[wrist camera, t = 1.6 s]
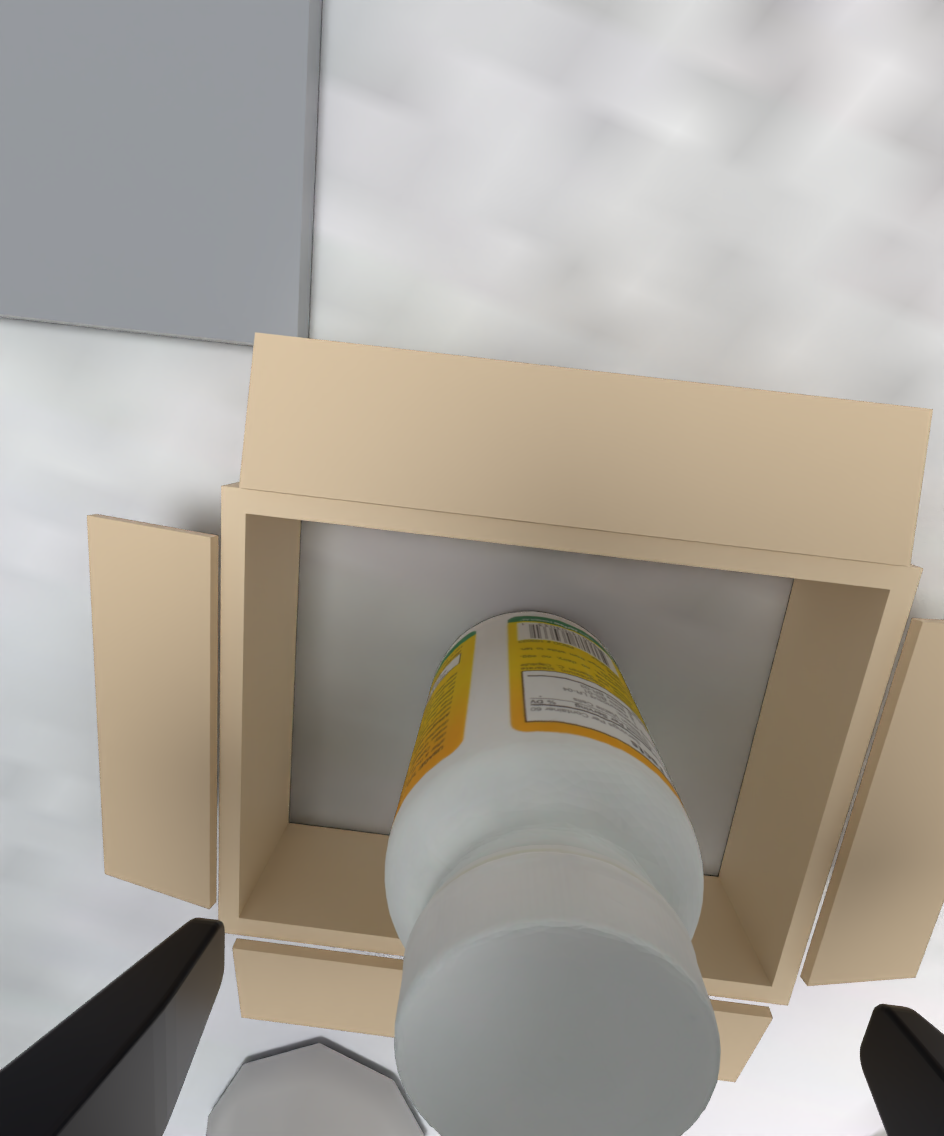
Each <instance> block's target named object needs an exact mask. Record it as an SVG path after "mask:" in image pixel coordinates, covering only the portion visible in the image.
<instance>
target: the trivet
mask: <svg viewBox="0 0 944 1136" xmlns="http://www.w3.org/2000/svg"><path fill="white" fill-rule="evenodd" d="M321 14H322V0H0V317H3V318H12V319H21V320H30V321H39V322H47V323H56V324H65V325H74V326H82V327H91V328H100V329H109V330H118V331H126V332H135V333H144V334H153V335H161V336H170V337H179V338H188V339H197V340H205V341H214V342H223V343H232V344H240V345H249V346H254V338H255V332H256V333H265V334H274V335H283V336H292V337H300V338H308V334H309V309H310V285H311V260H312V235H313V211H314V186H315V162H316V137H317V112H318V88H319V63H320V39H321Z"/></svg>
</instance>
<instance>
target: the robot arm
mask: <svg viewBox="0 0 944 1136" xmlns="http://www.w3.org/2000/svg"><path fill="white" fill-rule="evenodd" d="M224 948H225V928H224V924H223V922H222V921H219V920H213V919H205V918H194V919H192V920H190V921H188V922H187V923H186V924H184V925H183V926H182V927H181V928H179V929H178V930H177V931H176V932H174V933H173V934H172V935H171V936H169V937H168V938H167V939H165V940H164V941H163V942H162V943H160V944H159V945H158V946H157V947H155V948H154V949H153V950H152V951H150V952H149V953H148V954H147V955H145V956H144V957H143V958H141V959H140V960H139V961H138V962H136V963H135V964H134V965H133V966H131V967H130V968H129V969H128V970H126V971H125V972H124V973H123V974H121V975H120V976H119V977H117V978H116V979H115V980H114V981H112V982H111V983H110V984H109V985H107V986H106V987H105V988H104V989H102V990H101V991H100V992H99V993H97V994H96V995H95V996H93V997H92V998H91V999H90V1000H88V1001H87V1002H86V1003H85V1004H83V1005H82V1006H81V1007H80V1008H78V1009H77V1010H76V1011H75V1012H73V1013H72V1014H71V1015H70V1016H68V1017H67V1018H66V1019H64V1020H63V1021H62V1022H61V1023H59V1024H58V1025H57V1026H56V1027H54V1028H53V1029H52V1030H51V1031H49V1032H48V1033H47V1034H46V1035H44V1036H43V1037H42V1038H40V1039H39V1040H38V1041H37V1042H35V1043H34V1044H33V1045H32V1046H30V1047H29V1048H28V1049H27V1050H25V1051H24V1052H23V1053H22V1054H20V1055H19V1056H18V1057H16V1058H15V1059H14V1060H13V1061H11V1062H10V1063H9V1064H8V1065H6V1066H5V1067H4V1068H3V1069H1V1070H0V1136H162V1135H163V1133H164V1131H165V1129H166V1126H167V1124H168V1122H169V1119H170V1117H171V1114H172V1112H173V1109H174V1107H175V1104H176V1102H177V1099H178V1096H179V1094H180V1091H181V1088H182V1086H183V1083H184V1081H185V1078H186V1075H187V1073H188V1070H189V1067H190V1065H191V1062H192V1059H193V1057H194V1054H195V1052H196V1049H197V1046H198V1044H199V1041H200V1038H201V1036H202V1033H203V1030H204V1028H205V1025H206V1023H207V1020H208V1017H209V1015H210V1012H211V1009H212V1007H213V1004H214V1002H215V999H216V996H217V994H218V991H219V988H220V985H221V982H222V978H223V973H224ZM860 1061H861V1066H862V1069H863V1073H864V1075H865V1078H866V1081H867V1083H868V1086H869V1088H870V1091H871V1094H872V1096H873V1099H874V1102H875V1104H876V1107H877V1109H878V1112H879V1115H880V1117H881V1120H882V1123H883V1125H884V1128H885V1130H886V1133H887V1136H944V1034H943V1033H941V1032H940V1031H939V1030H938V1029H937V1028H935V1027H934V1026H933V1025H932V1024H930V1023H929V1022H928V1021H927V1020H926V1019H924V1018H923V1017H922V1016H921V1015H920V1014H918V1013H917V1012H916V1011H914V1010H912V1009H910V1008H908V1007H903V1006H895V1005H888V1004H879V1005H878V1006H876V1007H875V1008H874V1010H873V1012H872V1015H871V1018H870V1021H869V1024H868V1027H867V1029H866V1032H865V1035H864V1038H863V1041H862V1043H861V1047H860Z"/></svg>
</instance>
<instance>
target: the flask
mask: <svg viewBox="0 0 944 1136" xmlns="http://www.w3.org/2000/svg"><path fill="white" fill-rule="evenodd" d="M206 1136H424V1134H423V1132H422V1130H421V1129H420V1127H419V1125H418V1123H417V1121H416V1120H415V1118H414V1116H413V1114H412V1112H411V1111H410V1109H409V1107H408V1105H407V1103H406V1101H405V1100H404V1098H403V1096H402V1094H401V1092H400V1091H399V1089H398V1087H397V1085H396V1083H395V1082H394V1080H392V1079H390V1078H388V1077H386V1076H384V1075H382V1074H380V1073H378V1072H376V1071H374V1070H372V1069H370V1068H368V1067H366V1066H364V1065H362V1064H360V1063H358V1062H356V1061H354V1060H352V1059H350V1058H348V1057H346V1056H344V1055H342V1054H340V1053H338V1052H336V1051H334V1050H332V1049H330V1048H328V1047H327V1046H325V1045H323V1044H321V1043H317V1044H313V1045H310V1046H306V1047H303V1048H299V1049H295V1050H292V1051H288V1052H285V1053H281V1054H277V1055H274V1056H270V1057H267V1058H263V1059H260V1060H256V1061H252V1062H249V1063H245V1064H243V1066H242V1067H241V1069H240V1070H239V1071H238V1073H237V1074H236V1076H235V1077H234V1079H233V1080H232V1082H231V1083H230V1085H229V1086H228V1088H227V1089H226V1091H225V1092H224V1094H223V1095H222V1096H221V1098H220V1099H219V1101H218V1102H217V1104H216V1105H215V1107H214V1108H213V1110H212V1111H211V1113H210V1114H209V1116H208V1123H207V1132H206Z"/></svg>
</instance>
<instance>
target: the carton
mask: <svg viewBox="0 0 944 1136" xmlns="http://www.w3.org/2000/svg"><path fill="white" fill-rule="evenodd" d="M932 411H933V409H926V408H917V407H908V406H899V405H890V404H882V403H873V402H864V401H855V400H846V399H838V398H829V397H820V396H811V395H802V394H794V393H785V392H776V391H767V390H758V389H750V388H741V387H732V386H723V385H714V384H706V383H697V382H688V381H679V380H670V379H662V378H653V377H644V376H635V375H626V374H618V373H609V372H600V371H591V370H582V369H573V368H565V367H556V366H547V365H538V364H529V363H521V362H512V361H503V360H494V359H485V358H477V357H468V356H459V355H450V354H441V353H433V352H424V351H415V350H406V349H397V348H389V347H380V346H371V345H362V344H353V343H345V342H336V341H327V340H318V339H309V338H300V337H292V336H283V335H274V334H265V333H256V332H255V338H254V347H253V357H252V367H251V376H250V386H249V395H248V405H247V415H246V424H245V434H244V444H243V453H242V463H241V472H240V482H237V483H232V484H228V485H223V486H221V607H220V751H219V896H218V920H219V921H222V922H223V924H224V928H225V933H229V934H237V935H244V936H252V937H260V938H268V939H275V940H283V941H291V942H299V943H306V944H314V945H322V946H330V947H337V948H345V949H353V950H361V951H368V952H376V953H384V954H392V955H399V956H404V952H405V948H404V946H403V944H402V942H401V941H400V939H399V937H398V934H397V932H396V930H395V927H394V924H393V922H392V919H391V916H390V913H389V908H388V903H387V898H386V889H385V859H386V851H387V846H388V840H389V835H381V834H373V833H365V832H357V831H350V830H342V829H334V828H326V827H318V826H310V825H302V824H294V823H289V802H290V777H291V752H292V728H293V703H294V678H295V654H296V629H297V605H298V580H299V555H300V531H301V520H305V521H314V522H322V523H331V524H339V525H348V526H356V527H365V528H373V529H382V530H390V531H398V532H407V533H415V534H424V535H432V536H441V537H449V538H458V539H466V540H475V541H483V542H492V543H500V544H508V545H517V546H525V547H534V548H542V549H551V550H559V551H568V552H576V553H585V554H593V555H602V556H610V557H618V558H627V559H635V560H644V561H652V562H661V563H669V564H678V565H686V566H695V567H703V568H711V569H720V570H728V571H737V572H745V573H754V574H762V575H771V576H779V577H788V578H795V579H794V583H793V587H792V591H791V595H790V599H789V603H788V606H787V610H786V614H785V618H784V622H783V626H782V630H781V634H780V638H779V642H778V646H777V650H776V653H775V657H774V661H773V665H772V669H771V673H770V677H769V681H768V685H767V689H766V693H765V696H764V700H763V704H762V708H761V712H760V716H759V720H758V724H757V728H756V732H755V736H754V740H753V743H752V747H751V751H750V755H749V759H748V763H747V767H746V771H745V775H744V779H743V783H742V787H741V790H740V794H739V798H738V802H737V806H736V810H735V814H734V818H733V822H732V826H731V830H730V833H729V837H728V841H727V845H726V849H725V853H724V857H723V861H722V865H721V869H720V873H719V877H715V876H707V875H703V876H704V891H703V903H702V908H701V913H700V917H699V921H698V924H697V927H696V930H695V933H694V935H693V938H692V940H691V942H692V945H693V948H694V951H695V954H696V959H697V964H698V967H699V970H700V973H701V976H702V979H703V982H704V984H705V987H706V990H707V993H708V995H710V996H717V997H725V998H733V999H741V1000H748V1001H756V1002H764V1003H772V1004H779V1005H787V1006H788V1003H789V1000H790V997H791V994H792V990H793V987H794V984H795V981H796V977H797V974H798V971H799V968H800V964H801V961H802V958H803V955H804V952H805V948H806V945H807V942H808V939H809V935H810V932H811V929H812V926H813V923H814V919H815V916H816V913H817V910H818V906H819V903H820V900H821V897H822V893H823V890H824V887H825V884H826V881H827V877H828V874H829V871H830V868H831V864H832V861H833V858H834V855H835V851H836V848H837V845H838V842H839V839H840V835H841V832H842V829H843V826H844V822H845V819H846V816H847V813H848V810H849V806H850V803H851V800H852V797H853V793H854V790H855V787H856V784H857V780H858V777H859V774H860V771H861V768H862V764H863V761H864V758H865V755H866V751H867V748H868V745H869V742H870V739H871V735H872V732H873V729H874V726H875V722H876V719H877V716H878V713H879V709H880V706H881V703H882V700H883V697H884V693H885V690H886V687H887V684H888V680H889V677H890V674H891V671H892V667H893V664H894V661H895V658H896V655H897V651H898V648H899V645H900V642H901V638H902V635H903V632H904V629H905V626H906V622H907V619H908V616H909V613H910V609H911V606H912V603H913V600H914V596H915V593H916V590H917V587H918V584H919V580H920V577H921V574H922V571H923V568H921V567H918V566H915V565H912V564H911V557H912V550H913V543H914V536H915V529H916V522H917V515H918V508H919V501H920V494H921V487H922V481H923V474H924V467H925V460H926V453H927V446H928V439H929V432H930V425H931V418H932ZM87 526H88V546H89V566H90V586H91V606H92V626H93V647H94V667H95V687H96V707H97V727H98V747H99V767H100V788H101V808H102V828H103V848H104V868H105V874H107V875H110V876H113V877H116V878H119V879H122V880H124V881H127V882H130V883H133V884H136V885H139V886H142V887H145V888H148V889H151V890H154V891H157V892H160V893H163V894H166V895H169V896H172V897H175V898H178V899H181V900H184V901H187V902H190V903H193V904H196V905H199V906H202V907H204V908H207V909H210V908H211V907H212V906H213V905H214V904H215V903H216V873H217V701H218V535H213V534H207V533H201V532H196V531H190V530H184V529H179V528H173V527H167V526H162V525H156V524H150V523H145V522H139V521H133V520H128V519H122V518H116V517H111V516H105V515H99V514H94V515H87ZM943 902H944V620H938V619H922V618H912V619H911V623H910V626H909V629H908V632H907V636H906V639H905V642H904V645H903V648H902V652H901V655H900V658H899V661H898V664H897V668H896V671H895V674H894V677H893V680H892V684H891V687H890V690H889V693H888V696H887V700H886V703H885V706H884V709H883V713H882V716H881V719H880V722H879V725H878V729H877V732H876V735H875V738H874V741H873V745H872V748H871V751H870V754H869V757H868V761H867V764H866V767H865V770H864V774H863V777H862V780H861V783H860V786H859V790H858V793H857V796H856V799H855V802H854V806H853V809H852V812H851V815H850V818H849V822H848V825H847V828H846V831H845V834H844V838H843V841H842V844H841V847H840V851H839V854H838V857H837V860H836V863H835V867H834V870H833V873H832V876H831V879H830V883H829V886H828V889H827V892H826V895H825V899H824V902H823V905H822V908H821V912H820V915H819V918H818V921H817V924H816V928H815V931H814V934H813V937H812V940H811V944H810V947H809V950H808V953H807V956H806V960H805V963H804V966H803V969H802V972H801V976H800V977H801V978H802V979H803V981H804V982H805V983H806V985H807V986H814V985H827V984H839V983H852V982H865V981H877V980H890V979H903V978H915V977H916V974H917V972H918V969H919V966H920V964H921V961H922V958H923V956H924V953H925V950H926V948H927V945H928V942H929V940H930V937H931V934H932V931H933V929H934V926H935V923H936V921H937V918H938V915H939V913H940V910H941V907H942V905H943ZM232 949H233V957H234V964H235V972H236V979H237V987H238V994H239V1002H240V1009H241V1017H242V1018H250V1019H257V1020H265V1021H272V1022H280V1023H288V1024H295V1025H303V1026H311V1027H318V1028H326V1029H333V1030H341V1031H349V1032H356V1033H364V1034H372V1035H379V1036H387V1037H394V1034H395V1019H396V1013H397V1006H398V1000H399V994H400V988H401V982H402V974H403V960H401V959H393V958H386V957H378V956H370V955H362V954H355V953H347V952H339V951H331V950H324V949H316V948H308V947H300V946H293V945H285V944H277V943H269V942H262V941H254V940H246V939H238V938H237V939H236V941H235V943H234V946H233V948H232ZM710 1001H711V1004H712V1007H713V1010H714V1013H715V1018H716V1022H717V1027H718V1031H719V1037H720V1046H721V1055H720V1068H719V1074H718V1080H723V1081H730V1082H736V1080H737V1078H738V1076H739V1075H740V1073H741V1071H742V1070H743V1068H744V1066H745V1065H746V1063H747V1061H748V1059H749V1058H750V1056H751V1054H752V1053H753V1051H754V1049H755V1048H756V1046H757V1044H758V1042H759V1041H760V1039H761V1037H762V1036H763V1034H764V1032H765V1031H766V1029H767V1027H768V1026H769V1024H770V1022H771V1020H772V1019H773V1017H772V1015H771V1012H770V1009H769V1007H765V1006H758V1005H750V1004H742V1003H734V1002H727V1001H719V1000H711V999H710Z"/></svg>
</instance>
